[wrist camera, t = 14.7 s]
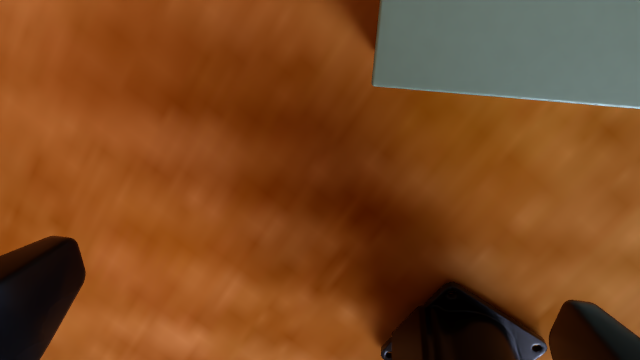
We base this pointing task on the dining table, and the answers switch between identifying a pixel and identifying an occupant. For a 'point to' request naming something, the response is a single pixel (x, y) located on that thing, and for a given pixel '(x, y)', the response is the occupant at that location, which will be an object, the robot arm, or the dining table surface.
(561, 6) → the drawer box
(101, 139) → the dining table surface
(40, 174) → the dining table surface
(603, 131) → the dining table surface
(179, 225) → the dining table surface
